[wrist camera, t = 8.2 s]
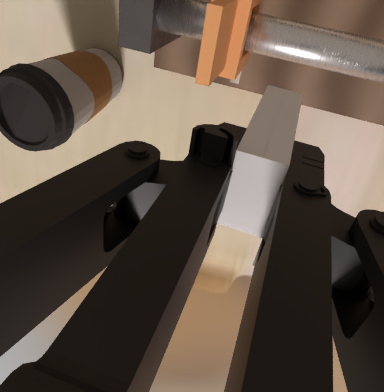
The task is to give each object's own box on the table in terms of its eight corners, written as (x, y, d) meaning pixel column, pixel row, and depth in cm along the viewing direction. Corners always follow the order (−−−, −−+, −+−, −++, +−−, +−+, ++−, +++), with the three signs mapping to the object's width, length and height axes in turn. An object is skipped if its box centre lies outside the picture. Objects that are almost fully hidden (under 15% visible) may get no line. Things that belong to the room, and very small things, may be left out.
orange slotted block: (266, -15, 30) (241, -3, 21) (247, 61, 34) (220, 99, 25) (232, -22, 30) (193, -13, 21) (218, 54, 34) (180, 89, 25)
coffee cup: (63, 76, 46) (-27, 117, 34) (88, 22, 41) (-7, 48, 29) (113, 118, 47) (43, 171, 35) (143, 70, 42) (73, 113, 30)
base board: (503, -27, 28) (512, -27, 27) (413, 128, 37) (416, 134, 36) (172, -87, 33) (166, -89, 32) (158, 63, 41) (153, 67, 40)
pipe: (479, 28, 30) (528, 50, 23) (438, 96, 33) (470, 133, 26) (162, -37, 34) (120, -35, 27) (156, 29, 38) (118, 46, 31)
